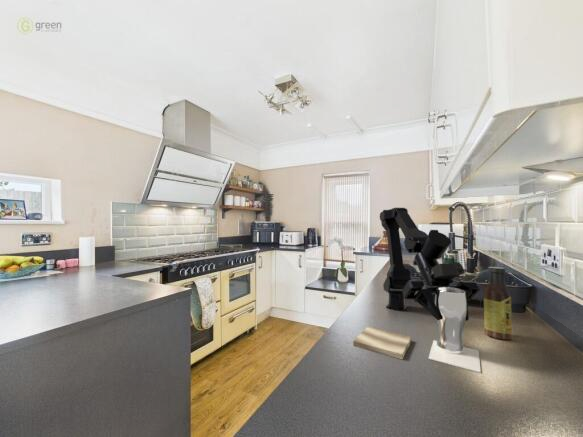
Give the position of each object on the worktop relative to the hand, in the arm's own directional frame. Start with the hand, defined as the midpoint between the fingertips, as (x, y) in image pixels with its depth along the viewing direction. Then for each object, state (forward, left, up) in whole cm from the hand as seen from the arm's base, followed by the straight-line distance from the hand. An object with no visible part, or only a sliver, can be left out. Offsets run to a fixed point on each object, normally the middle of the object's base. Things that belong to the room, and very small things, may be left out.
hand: (453, 320), depth 65 cm
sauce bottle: (-19, +10, -8) cm, 23 cm away
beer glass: (-1, -1, -8) cm, 8 cm away
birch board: (+6, -16, -8) cm, 19 cm away
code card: (+2, 0, -8) cm, 8 cm away
